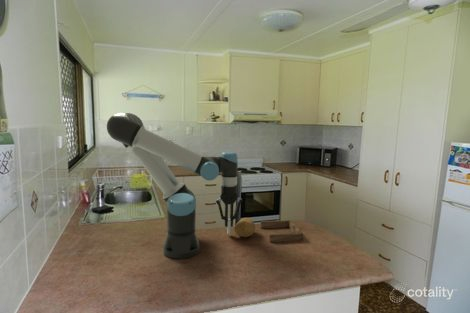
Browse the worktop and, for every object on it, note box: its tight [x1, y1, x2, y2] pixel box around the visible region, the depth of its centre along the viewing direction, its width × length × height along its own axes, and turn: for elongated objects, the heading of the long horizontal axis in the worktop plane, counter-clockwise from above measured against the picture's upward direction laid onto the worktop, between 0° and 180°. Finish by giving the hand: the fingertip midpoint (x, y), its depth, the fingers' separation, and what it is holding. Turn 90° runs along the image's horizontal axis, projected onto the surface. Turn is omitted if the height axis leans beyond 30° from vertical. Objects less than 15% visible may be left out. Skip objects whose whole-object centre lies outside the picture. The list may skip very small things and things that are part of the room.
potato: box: [234, 217, 256, 238], centre depth 137 cm, size 10×14×8 cm
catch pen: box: [260, 219, 304, 243], centre depth 140 cm, size 18×16×4 cm
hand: (228, 232), depth 136 cm, fingers closed
